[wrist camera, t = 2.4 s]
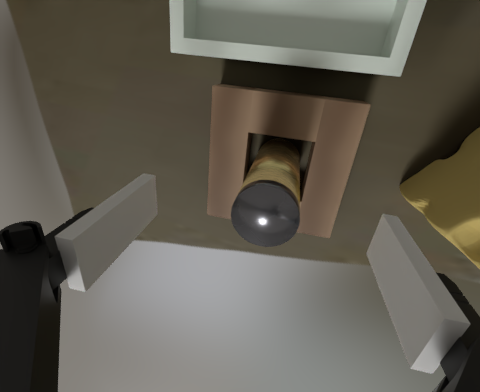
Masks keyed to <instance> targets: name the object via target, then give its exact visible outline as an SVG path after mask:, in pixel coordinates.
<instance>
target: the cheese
mask: <svg viewBox="0 0 480 392" xmlns="http://www.w3.org/2000/svg"><path fill="white" fill-rule="evenodd" d="M400 191H401V193H402V195H403V197H404V198H405V199H406V200H407V201H408V202H409V203H410V204H411V205H413V206H414V207H415V208H416V209H418V210H419V211H420V212H422V213H423V214H424V215H425V217H426V219H427V220H428V221H429V223H430V224H431V225H432V226H433V227H434V228H435V229H436V230H437V231H438V232H439V233H441V234H442V235H443V236H444V237H445V238H447V239H448V240H449V241H450V242H451V243H453V244H454V245H455V246H456V247H457V248H458V249H459V250H460V251H461V252H462V253H463V254H465V255H466V256H467V257H468V258H469V259H470V260H471V261H472V262H473V263H474V264H475V265H476V266H477V267H478V268H479V269H480V127H479V128H477V129H476V130H475V131H474V132H472V133H471V134H470V135H469V136H468V137H467V138H466V139H465V140H464V142H463V143H462V145H461V147H460V149H459V150H458V151H457V153H455V154H454V155H453V156H451V157H449V158H447V159H444V160H442V159H438V160H435V161H434V162H432V163H431V164H429V165H428V166H426V167H425V168H423V169H422V170H421V171H419V172H418V173H417V174H415V175H413V176H412V177H410V178H409V179H407V180H406V181H404V182H403V183H402V184H401V185H400Z"/></svg>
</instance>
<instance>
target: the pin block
mask: <svg viewBox="0 0 480 392" xmlns="http://www.w3.org/2000/svg"><path fill="white" fill-rule="evenodd" d="M370 106H371V105H370V104H368V103H366V102H365V101H360V100H351V99H343V98H335V97H326V96H318V95H310V94H301V93H293V92H285V91H276V90H268V89H260V88H251V87H243V86H235V85H226V84H218V85H213V87H212V111H211V134H210V157H209V181H208V204H207V215H211V216H216V217H222V218H227V219H231V208H232V205H233V203H234V201H235V199H236V197H237V195H238V193H239V191H240V189H241V186H242V184H243V182H244V180H245V178H246V176H247V174H248V165H249V157H250V148H251V140H252V133H257V134H264V135H271V136H278V137H285V138H291V139H298V140H305V141H312V146H311V150H310V154H309V159H308V163H307V168H306V172H305V177H304V181H303V185H302V190H300V223H299V227H298V230H297V232H299V233H305V234H310V235H315V236H320V237H325V238H330V235H331V232H332V228H333V225H334V222H335V219H336V215H337V212H338V209H339V206H340V203H341V199H342V196H343V193H344V190H345V187H346V183H347V180H348V177H349V174H350V170H351V167H352V164H353V161H354V158H355V154H356V151H357V148H358V145H359V142H360V138H361V135H362V132H363V129H364V125H365V122H366V119H367V116H368V113H369V109H370Z"/></svg>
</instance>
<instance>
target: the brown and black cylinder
mask: <svg viewBox="0 0 480 392" xmlns="http://www.w3.org/2000/svg"><path fill="white" fill-rule="evenodd" d="M231 220H232V224H233V226H234V228H235V230H236V231H237V232H238V234H239V235H240V236H241V237H242V238H244V239H245V240H247V241H248V242H250V243H252V244H255V245H259V246H265V247H271V246H277V245H281V244H283V243H285V242H287V241H288V240H290V239H291V238H292V237H293V236H294V235H295V233H296V232H297V230H298V227H299V223H300V156H299V152H298V150H297V148H296V147H295V146H294V145H293V144H292V143H291V142H290V141H288V140H285V139H279V138H278V139H272V140H269V141H267V142H266V143H265V144H263V145H262V147H261V148H260V150H259V152H258V154H257V156H256V158H255V160H254V162H253V164H252V166H251V168H250V170H249V172H248V174H247V176H246V178H245V180H244V182H243V184H242V186H241V189H240V191H239V193H238V195H237V197H236V199H235V201H234V203H233V205H232V208H231Z"/></svg>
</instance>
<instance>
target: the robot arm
mask: <svg viewBox="0 0 480 392" xmlns="http://www.w3.org/2000/svg"><path fill="white" fill-rule="evenodd" d="M157 214H158V212H157V196H156V180H155V175H150V174H144V173H143V174H142V175H141V176H139V177H138V178H136V179H135V180H133V181H132V182H131V183H129V184H128V185H126V186H125V187H124V188H122V189H121V190H119V191H118V192H117V193H115V194H114V195H112V196H111V197H109V198H108V199H107V200H105V201H104V202H102V203H101V204H100V205H98V206H97V207H95V208H89V209H87V210H84V211H81V212H80V213H78V214H77V215H75V216H74V217H73V218H72V219H69V220H68V221H66V223H63V224H62V225H61V226H59V227H58V228H56V229H55V230H53V231H52V232H51V233H49V234H47V235H46V236H44V233H43V230H42V227H41V224H40V223H38V222H34V221H26V222H19V223H15V224H12V225H9V226H7V227H5V228H4V229H2V230H1V231H0V242H1V245H2V247H3V249H1V250H0V392H58V368H59V340H60V313H61V288H60V284H61V283H62V282H63V281H64V280H65V279H66V278H67V281H68V285H69V288H71V289H75V290H79V291H84V292H86V291H87V290H88V289H89V288H90V287H91V285H92V284H93V283H94V282H95V281H96V280H97V279H98V278H99V277H100V276H101V275H102V274H103V272H104V271H105V270H106V269H107V268H108V267H109V266H110V265H111V264H112V263H113V262H114V261H115V260H116V259H117V258H118V256H119V255H120V254H121V253H122V252H123V251H124V250H125V249H126V248H127V247H128V246H129V244H131V242H132V241H133V240H134V239H135V238H136V237H137V236H138V235H139V234H140V233H141V232H142V231H143V230H144V228H145V227H146V226H147V225H148V224H149V223H150V222H151V221H152V220H153V219H154V218H155V217H156V215H157ZM366 254H367V257H368V259H369V262H370V264H371V267H372V270H373V272H374V275H375V278H376V280H377V283H378V286H379V288H380V291H381V293H382V296H383V299H384V301H385V304H386V306H387V309H388V312H389V314H390V317H391V320H392V322H393V325H394V327H395V330H396V333H397V335H398V338H399V341H400V343H401V346H402V348H403V351H404V354H405V356H406V358H407V362H408V364H409V367H410V369H414V370H418V371H423V372H427V373H431V374H433V372H434V371H435V370H436V369H437V367H438V366H439V365H440V364H441V366H442V368H443V370H444V372H445V374H446V376H445V377H444V378H443V380H442V381H441V382H440V383H439V384H438V386H437V387H436V388H435V389H434V391H433V392H480V317H479V315H478V314H477V313H476V311H475V310H474V309H473V307H472V306H471V305H470V304H469V302H468V300H467V299H466V298H465V296H463V294H462V292H461V291H460V290H459V288H458V287H457V285H456V284H455V283H454V282H452V281H451V280H450V279H449V278H448V277H447V276H445V275H444V274H441V273H436V272H435V271H434V269H433V268H432V266H431V265H430V263H429V262H428V261H427V259H426V258H425V256H424V255H423V253H422V252H421V250H420V249H419V247H418V246H417V244H416V243H415V241H414V240H413V238H412V237H411V236H410V234H409V233H408V231H407V230H406V228H405V227H404V225H403V224H402V222H401V221H400V219H399V218H398V216H392V215H386V214H382V216H381V219H380V221H379V224H378V226H377V229H376V231H375V234H374V236H373V238H372V241H371V243H370V246H369V248H368V251H367V253H366Z"/></svg>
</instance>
